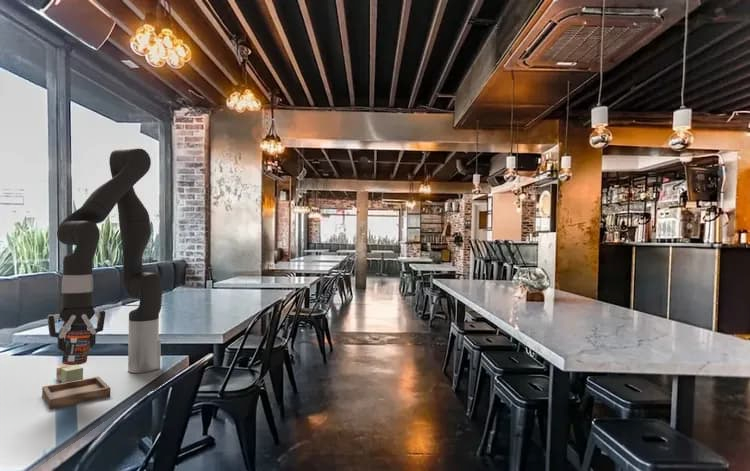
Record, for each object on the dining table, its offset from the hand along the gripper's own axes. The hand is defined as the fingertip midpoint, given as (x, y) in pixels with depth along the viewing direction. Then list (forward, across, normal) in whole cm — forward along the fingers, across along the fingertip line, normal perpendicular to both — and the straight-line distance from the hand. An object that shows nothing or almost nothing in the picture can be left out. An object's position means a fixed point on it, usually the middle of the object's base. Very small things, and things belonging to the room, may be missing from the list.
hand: (76, 348), depth 127 cm
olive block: (+9, -2, -15) cm, 18 cm away
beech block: (+14, -1, -22) cm, 26 cm away
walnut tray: (+13, 0, 0) cm, 13 cm away
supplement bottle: (+4, 0, 0) cm, 4 cm away
